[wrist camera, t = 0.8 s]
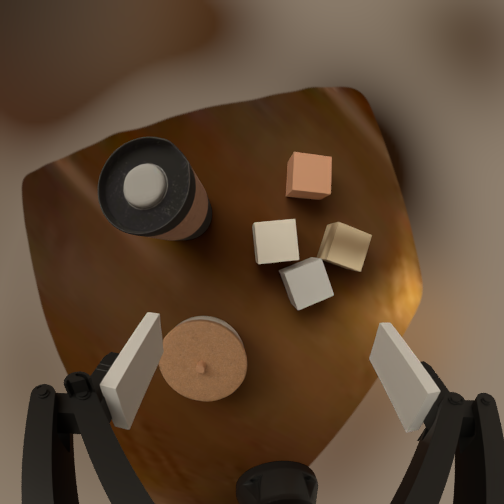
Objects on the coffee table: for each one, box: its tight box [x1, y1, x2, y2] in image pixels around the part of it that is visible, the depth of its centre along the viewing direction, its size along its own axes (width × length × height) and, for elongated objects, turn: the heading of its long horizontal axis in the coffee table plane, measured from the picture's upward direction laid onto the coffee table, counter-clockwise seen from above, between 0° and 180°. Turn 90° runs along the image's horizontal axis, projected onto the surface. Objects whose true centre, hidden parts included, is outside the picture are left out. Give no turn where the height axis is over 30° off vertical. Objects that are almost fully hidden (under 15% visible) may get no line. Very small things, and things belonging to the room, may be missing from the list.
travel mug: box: [98, 137, 212, 240], centre depth 29 cm, size 8×8×20 cm
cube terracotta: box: [286, 152, 332, 200], centre depth 38 cm, size 5×5×5 cm
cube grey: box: [279, 257, 334, 310], centre depth 38 cm, size 5×5×5 cm
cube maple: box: [317, 222, 372, 272], centre depth 38 cm, size 5×5×5 cm
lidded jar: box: [159, 316, 247, 401], centre depth 35 cm, size 11×11×9 cm
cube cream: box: [252, 219, 299, 264], centre depth 38 cm, size 5×5×5 cm
